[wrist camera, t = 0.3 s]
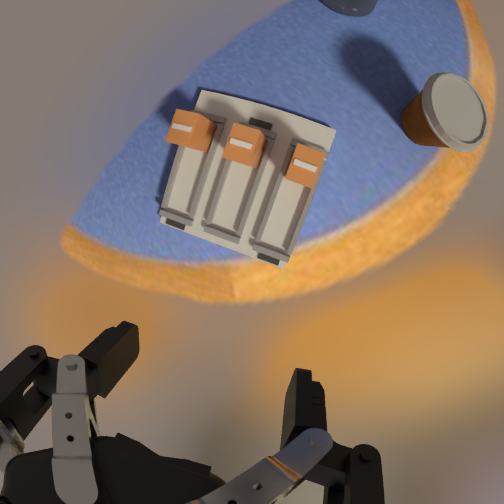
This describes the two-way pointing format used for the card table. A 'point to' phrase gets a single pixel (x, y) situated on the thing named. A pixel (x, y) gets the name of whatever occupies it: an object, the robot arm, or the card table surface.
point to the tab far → (191, 130)
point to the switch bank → (244, 181)
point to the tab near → (305, 165)
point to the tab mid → (244, 145)
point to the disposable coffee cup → (447, 114)
